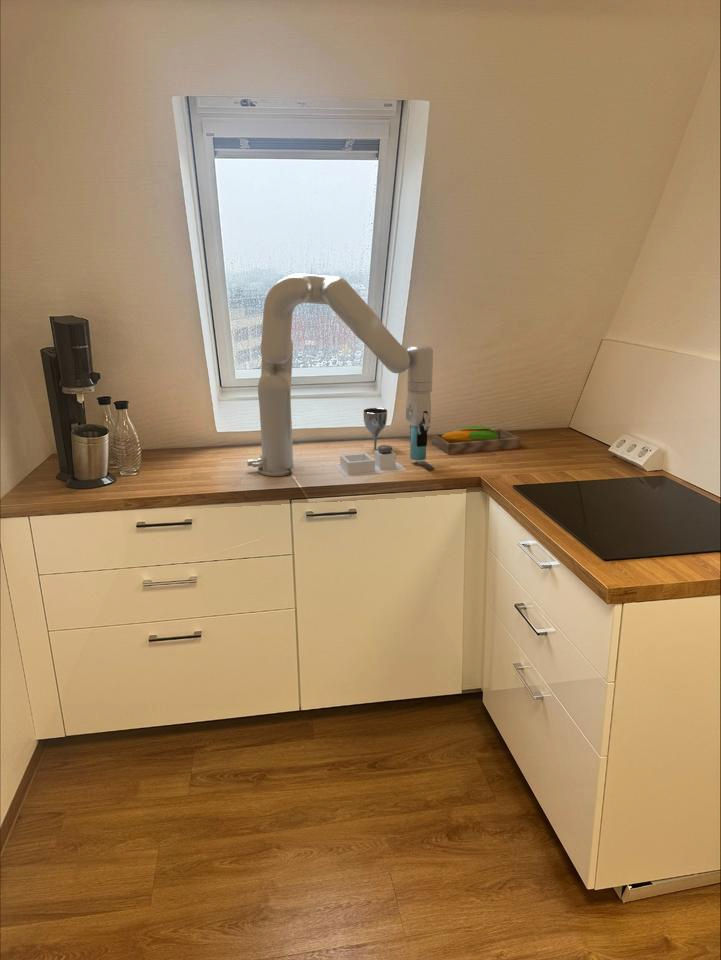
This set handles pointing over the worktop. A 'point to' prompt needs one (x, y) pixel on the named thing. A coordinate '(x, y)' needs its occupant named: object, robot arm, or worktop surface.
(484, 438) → the corn
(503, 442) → the brown rectangular tray
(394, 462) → the housing
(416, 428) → the cylinder
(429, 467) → the mat
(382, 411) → the wine glass
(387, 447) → the plunger
